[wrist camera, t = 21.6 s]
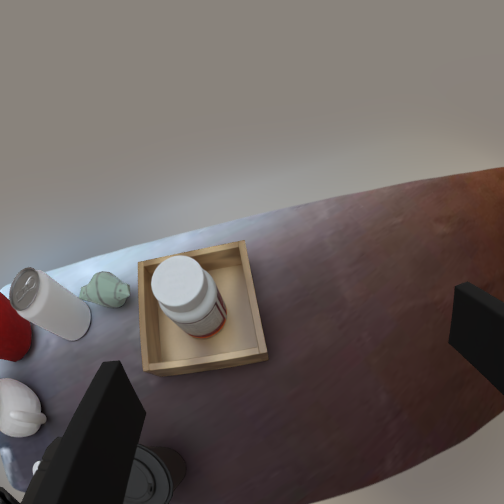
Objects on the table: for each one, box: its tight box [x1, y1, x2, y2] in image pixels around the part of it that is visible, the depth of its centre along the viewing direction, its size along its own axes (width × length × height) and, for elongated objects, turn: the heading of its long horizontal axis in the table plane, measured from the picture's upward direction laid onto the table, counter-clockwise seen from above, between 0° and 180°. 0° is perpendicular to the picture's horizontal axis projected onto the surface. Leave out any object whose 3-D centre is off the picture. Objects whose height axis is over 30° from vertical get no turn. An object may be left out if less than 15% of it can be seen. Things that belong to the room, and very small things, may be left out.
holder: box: [138, 240, 269, 377], centre depth 36 cm, size 14×14×5 cm
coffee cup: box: [123, 444, 186, 504], centre depth 24 cm, size 8×8×10 cm
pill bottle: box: [151, 255, 227, 339], centre depth 32 cm, size 6×6×11 cm
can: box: [9, 267, 91, 341], centre depth 34 cm, size 6×6×12 cm
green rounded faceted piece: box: [79, 271, 130, 308], centre depth 37 cm, size 8×4×7 cm, turn 94°
